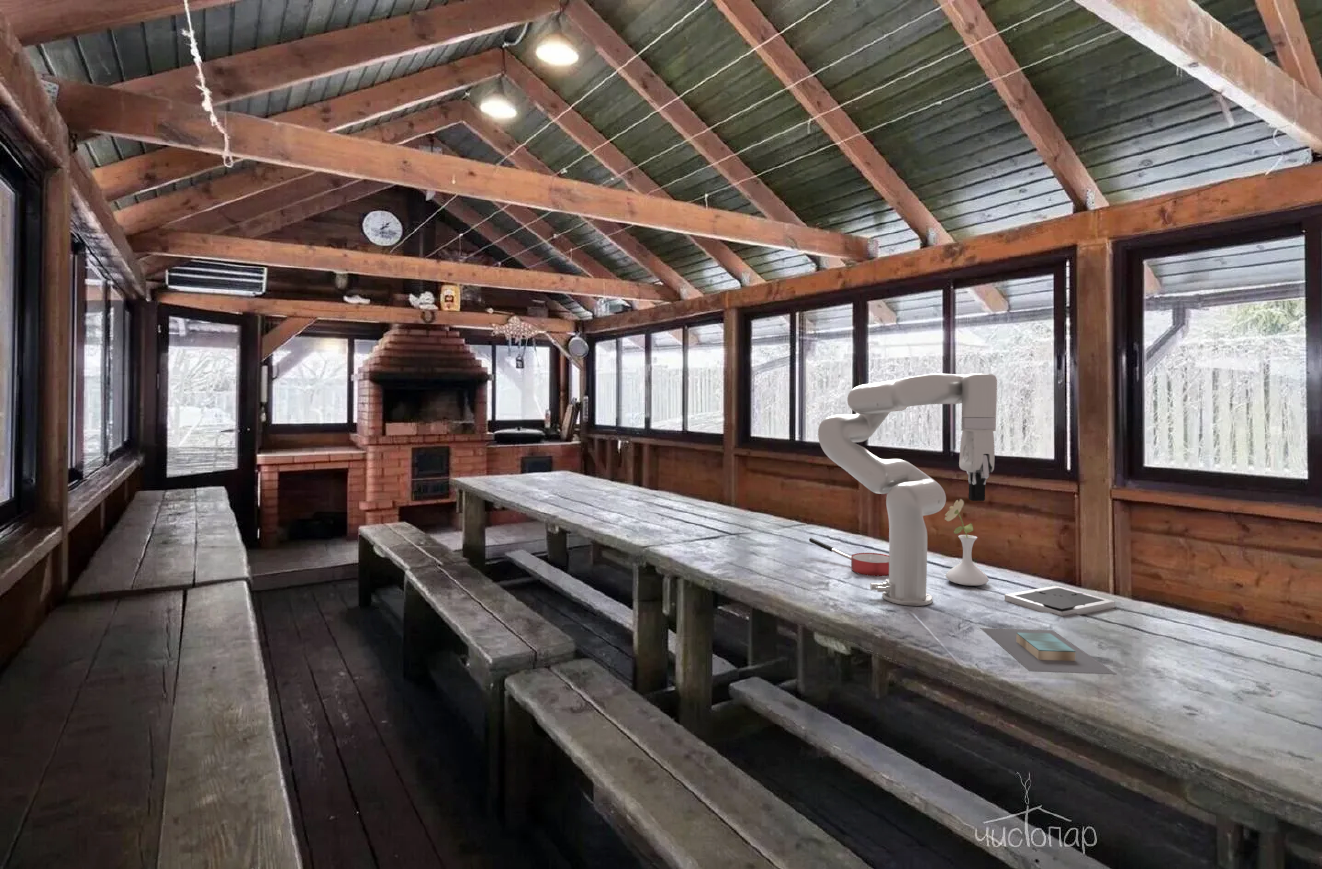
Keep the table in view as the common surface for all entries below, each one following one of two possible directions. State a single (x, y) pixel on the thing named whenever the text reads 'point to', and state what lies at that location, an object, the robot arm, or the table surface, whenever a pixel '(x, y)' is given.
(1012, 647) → the rubber mat
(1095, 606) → the picture frame
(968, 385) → the robot arm
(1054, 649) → the tile
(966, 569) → the flower in vase
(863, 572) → the frying pan
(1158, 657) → the table surface
